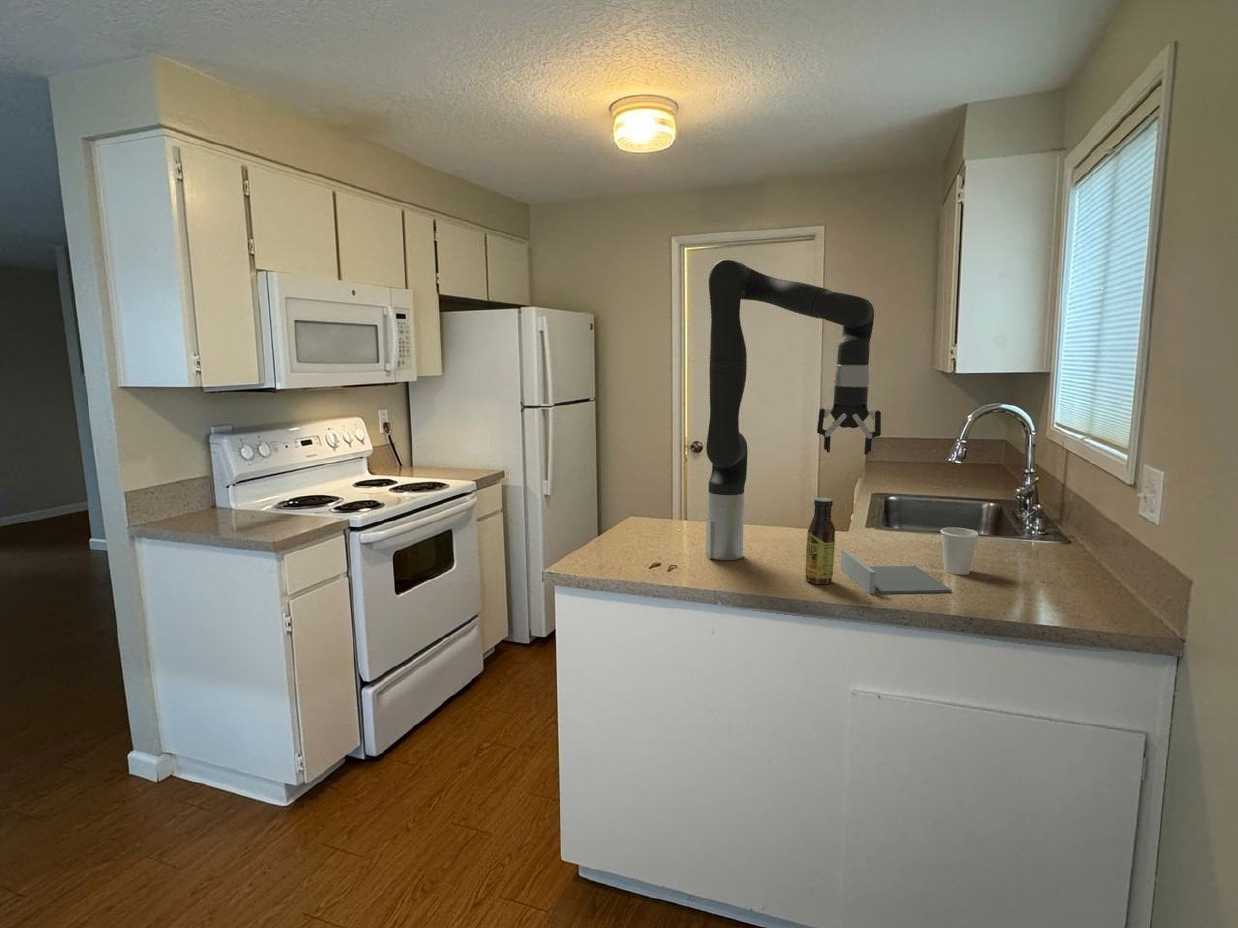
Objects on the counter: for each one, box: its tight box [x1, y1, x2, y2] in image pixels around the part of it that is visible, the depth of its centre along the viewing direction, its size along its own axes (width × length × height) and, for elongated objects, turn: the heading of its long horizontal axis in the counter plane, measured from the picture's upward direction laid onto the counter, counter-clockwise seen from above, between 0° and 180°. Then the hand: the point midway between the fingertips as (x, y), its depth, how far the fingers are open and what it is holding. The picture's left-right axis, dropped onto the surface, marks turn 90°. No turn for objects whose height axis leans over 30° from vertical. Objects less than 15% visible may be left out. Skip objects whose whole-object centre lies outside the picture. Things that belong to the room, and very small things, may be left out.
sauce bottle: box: [804, 496, 836, 585], centre depth 164 cm, size 6×6×20 cm
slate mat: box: [869, 565, 952, 595], centre depth 166 cm, size 16×18×1 cm
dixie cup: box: [940, 527, 979, 576], centre depth 172 cm, size 8×8×10 cm
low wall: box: [840, 549, 876, 595], centre depth 166 cm, size 1×18×5 cm, turn 2°
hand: (846, 453), depth 168 cm, fingers open, 8 cm apart
